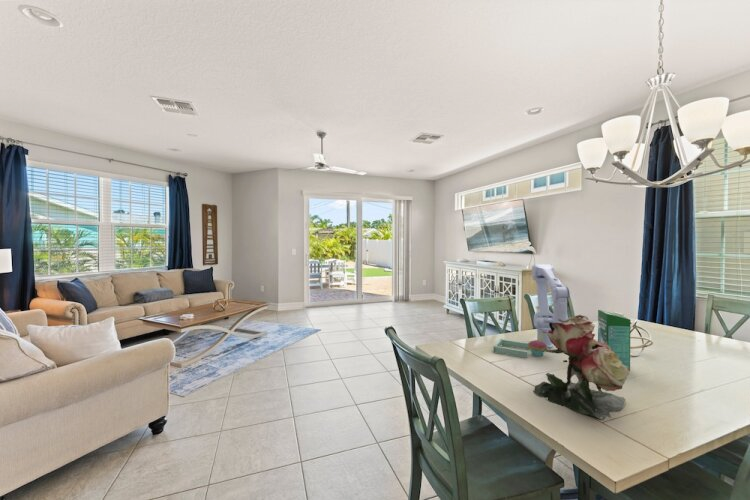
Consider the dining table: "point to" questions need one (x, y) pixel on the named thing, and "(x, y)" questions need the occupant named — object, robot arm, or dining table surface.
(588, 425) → the dining table surface
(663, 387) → the dining table surface
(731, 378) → the dining table surface
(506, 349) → the mint green u shape
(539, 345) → the cupcake
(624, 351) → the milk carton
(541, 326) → the robot arm
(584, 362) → the rose bouquet
